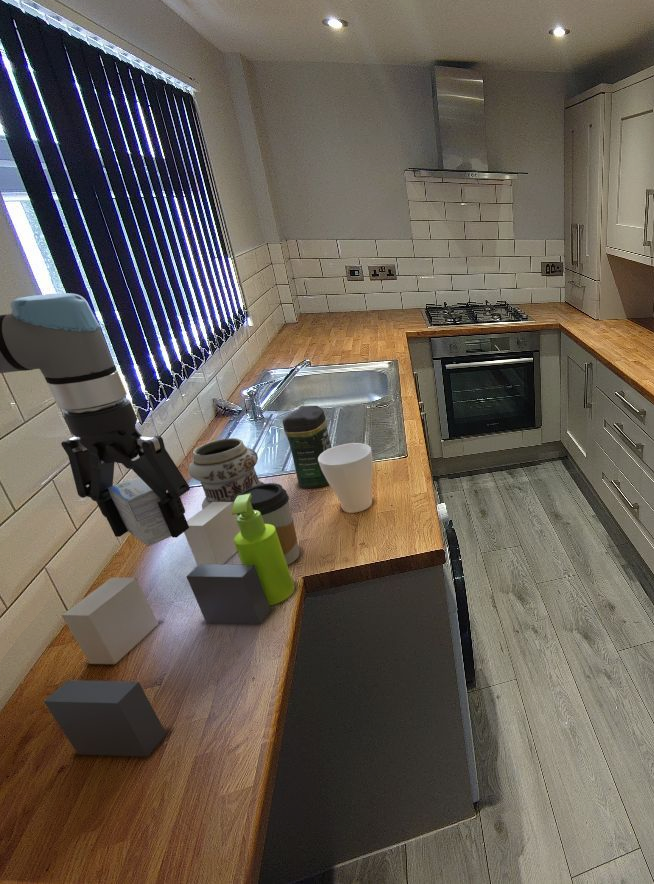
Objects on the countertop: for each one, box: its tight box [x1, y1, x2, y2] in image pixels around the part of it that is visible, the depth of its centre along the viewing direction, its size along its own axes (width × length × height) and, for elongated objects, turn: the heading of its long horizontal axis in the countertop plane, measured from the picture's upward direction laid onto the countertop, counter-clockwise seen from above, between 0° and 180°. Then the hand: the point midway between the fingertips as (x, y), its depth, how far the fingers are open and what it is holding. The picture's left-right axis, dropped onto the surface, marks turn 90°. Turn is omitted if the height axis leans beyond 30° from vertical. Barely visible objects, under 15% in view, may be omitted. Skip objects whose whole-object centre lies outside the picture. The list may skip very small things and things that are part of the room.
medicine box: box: [108, 476, 172, 547], centre depth 84 cm, size 8×4×9 cm, turn 57°
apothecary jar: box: [187, 437, 266, 516], centre depth 109 cm, size 12×12×18 cm
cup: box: [318, 442, 374, 514], centre depth 114 cm, size 10×10×14 cm
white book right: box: [183, 502, 240, 567], centre depth 99 cm, size 4×8×10 cm, turn 178°
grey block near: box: [43, 679, 167, 757], centre depth 64 cm, size 9×3×10 cm, turn 88°
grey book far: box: [186, 564, 272, 625], centre depth 84 cm, size 9×3×10 cm, turn 88°
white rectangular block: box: [61, 577, 159, 665], centre depth 79 cm, size 4×8×10 cm, turn 178°
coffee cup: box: [237, 482, 301, 566], centre depth 97 cm, size 8×8×15 cm
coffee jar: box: [282, 405, 333, 489], centre depth 125 cm, size 10×8×19 cm
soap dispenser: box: [232, 493, 295, 606], centre depth 87 cm, size 6×7×20 cm
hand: (152, 532), depth 86 cm, fingers closed on medicine box, 9 cm apart
